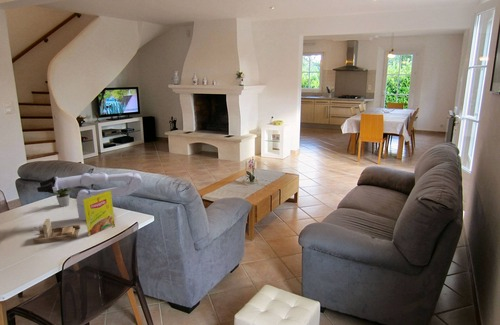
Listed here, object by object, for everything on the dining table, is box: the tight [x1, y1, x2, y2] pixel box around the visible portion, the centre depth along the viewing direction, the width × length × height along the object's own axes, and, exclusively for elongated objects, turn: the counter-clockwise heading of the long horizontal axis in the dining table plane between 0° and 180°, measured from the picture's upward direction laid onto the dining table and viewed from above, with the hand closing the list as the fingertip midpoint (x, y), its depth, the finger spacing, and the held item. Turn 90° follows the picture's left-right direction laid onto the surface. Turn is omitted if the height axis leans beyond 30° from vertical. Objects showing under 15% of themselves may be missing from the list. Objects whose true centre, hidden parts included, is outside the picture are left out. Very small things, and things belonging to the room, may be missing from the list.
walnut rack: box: [32, 224, 81, 245], centre depth 172 cm, size 18×12×3 cm, turn 106°
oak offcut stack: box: [61, 225, 75, 236], centre depth 173 cm, size 5×8×2 cm, turn 16°
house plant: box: [53, 187, 74, 208], centre depth 210 cm, size 14×14×16 cm
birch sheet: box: [42, 218, 52, 238], centre depth 170 cm, size 2×7×8 cm, turn 16°
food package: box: [83, 190, 116, 237], centre depth 175 cm, size 15×1×20 cm, turn 149°
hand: (38, 187), depth 181 cm, fingers open, 7 cm apart
